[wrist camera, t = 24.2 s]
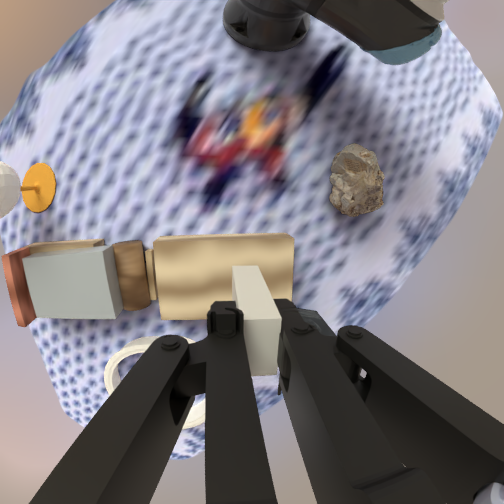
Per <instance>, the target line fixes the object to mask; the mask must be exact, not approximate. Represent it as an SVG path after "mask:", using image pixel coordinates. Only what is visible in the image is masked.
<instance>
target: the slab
mask: <svg viewBox="0 0 504 504" xmlns="http://www.w3.org/2000/svg"><path fill="white" fill-rule="evenodd" d="M22 261H23V266H24V270H25V275H26V279H27V284H28V288H29V292H30V295H31V299H32V303H33V306H34V310H35V313H36V316H37V318H60V319H116V318H117V317H118V316H119V314H120V313H121V311H122V310H123V308H124V306H123V301H122V297H121V292H120V287H119V281H118V276H117V270H116V264H115V258H114V251H113V245H108V246H98V247H87V248H77V249H67V250H58V251H48V252H39V253H34V254H32V255H29V256H27V257H25V258H23V259H22Z"/></svg>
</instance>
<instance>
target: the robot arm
mask: <svg viewBox="0 0 504 504" xmlns="http://www.w3.org/2000/svg"><path fill="white" fill-rule="evenodd" d="M447 1H449V0H228V2H227V3H226V5H225V8H224V12H223V24H224V27H225V29H226V31H227V32H228V33H229V35H230V36H231V37H232V38H234V39H235V40H236V41H238V42H239V43H241V44H243V45H245V46H247V47H250V48H253V49H257V50H262V51H281V50H286V49H289V48H292V47H294V46H296V45H297V44H298V43H300V42H301V41H302V40H303V38H304V37H305V35H306V34H307V32H308V30H309V27H310V15H312V16H314V17H315V18H317V19H318V20H320V21H322V22H323V23H325V24H327V25H328V26H330V27H332V28H333V29H335V30H336V31H338V32H339V33H341V34H342V35H344V36H345V37H347V38H348V39H350V40H351V41H353V42H354V43H356V44H357V45H358V46H360V48H361V49H362V50H363V51H365V52H368V53H370V54H371V55H372V56H374V57H375V58H377V59H378V60H379V61H381V62H382V63H384V64H390V65H401V64H405V63H408V62H410V61H413V60H415V59H417V58H418V57H420V56H422V55H423V54H425V53H426V52H428V51H429V50H430V49H431V48H430V47H431V46H433V45H435V44H436V43H437V42H438V41H439V39H440V37H441V35H442V30H441V28H440V25H439V23H440V22H441V21H443V20H444V10H443V4H445V3H446V2H447ZM207 330H208V336H207V337H206V338H205V339H203V340H201V341H199V342H195V343H190V344H189V343H188V341H187V339H185V338H184V337H182V336H178V335H164V336H162V337H159V338H157V339H156V340H154V341H153V342H152V344H151V345H150V346H149V347H148V349H147V350H146V351H145V352H144V354H143V355H142V356H141V357H140V359H139V360H138V361H137V362H136V364H135V365H134V366H133V367H132V369H131V370H130V371H129V372H128V374H127V375H126V376H125V377H124V379H123V380H122V381H121V382H120V384H119V385H118V386H117V387H116V389H115V390H114V391H113V392H112V394H111V395H110V396H109V398H108V399H107V400H106V401H105V403H104V404H103V405H102V406H101V408H100V409H99V410H98V412H97V413H96V414H95V415H94V417H93V418H92V419H91V421H90V422H89V423H88V425H87V426H86V427H85V428H84V430H83V431H82V432H81V434H80V435H79V436H78V438H77V439H76V440H75V442H74V443H73V444H72V446H71V447H70V448H69V449H68V451H67V452H66V453H65V455H64V456H63V458H62V459H61V460H60V462H59V463H58V464H57V466H56V467H55V468H54V470H53V471H52V472H51V474H50V475H49V477H48V478H47V479H46V481H45V482H44V483H43V485H42V486H41V487H40V489H39V490H38V492H37V493H36V494H35V496H34V497H33V499H32V500H31V501H30V503H29V504H149V503H150V501H151V499H152V496H153V494H154V492H155V490H156V487H157V485H158V483H159V481H160V478H161V476H162V474H163V471H164V469H165V467H166V465H167V462H168V460H169V458H170V455H171V453H172V451H173V449H174V446H175V444H176V442H177V439H178V437H179V435H180V433H181V430H182V428H183V426H184V423H185V421H186V419H187V416H188V414H189V412H190V410H191V407H192V405H193V403H194V400H195V395H199V394H203V393H206V395H205V486H206V504H278V502H277V499H276V495H275V490H274V485H273V481H272V476H271V472H270V467H269V463H268V458H267V453H266V448H265V443H264V438H263V433H262V429H261V424H260V418H259V413H258V408H257V403H256V398H255V393H254V388H253V382H252V377H251V376H265V375H277V367H279V370H280V376H279V385H278V395H280V394H281V390H282V393H283V396H284V400H285V403H286V406H287V409H288V412H289V416H290V419H291V422H292V426H293V429H294V432H295V435H296V438H297V442H298V444H299V448H300V451H301V454H302V457H303V461H304V464H305V467H306V470H307V473H308V476H309V479H310V482H311V486H312V489H313V492H314V495H315V498H316V501H317V504H504V424H502V423H501V422H499V421H498V420H496V419H495V418H493V417H492V416H491V415H489V414H488V413H486V412H485V411H483V410H482V409H481V408H479V407H478V406H476V405H475V404H473V403H472V402H470V401H469V400H468V399H466V398H464V397H463V396H462V395H460V394H459V393H457V392H456V391H454V390H453V389H452V388H450V387H449V386H447V385H446V384H444V383H443V382H441V381H440V380H439V379H437V378H436V377H434V376H433V375H431V374H430V373H428V372H427V371H426V370H424V369H423V368H421V367H420V366H418V365H417V364H415V363H414V362H412V361H411V360H410V359H408V358H407V357H405V356H404V355H402V354H401V353H399V352H398V351H396V350H395V349H394V348H392V347H391V346H389V345H388V344H386V343H385V342H384V341H382V340H381V339H379V338H378V337H376V336H375V335H373V334H372V333H370V332H369V331H367V330H366V329H364V328H362V327H358V326H355V325H349V326H344V327H342V328H340V329H339V330H338V334H337V336H329V335H321V334H320V332H319V331H318V329H317V328H316V327H315V326H314V325H312V324H310V323H306V322H304V320H303V318H302V316H301V315H300V313H299V312H298V310H297V308H296V306H295V305H294V303H293V302H291V301H290V300H288V299H287V298H284V299H273V298H272V296H271V294H270V291H269V289H268V287H267V285H266V283H265V280H264V278H263V276H262V274H261V272H260V269H259V267H258V265H255V266H232V301H215V302H214V303H213V304H212V305H211V306H210V310H209V311H208V313H207ZM362 369H364V370H365V371H366V372H367V374H366V377H365V378H363V377H361V376H360V373H361V370H362ZM404 466H406V467H407V468H406V467H404Z"/></svg>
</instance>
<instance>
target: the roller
mask: <svg viewBox="0 0 504 504" xmlns="http://www.w3.org/2000/svg"><path fill="white" fill-rule="evenodd" d="M113 251H114V258H115V264H116V270H117V276H118V281H119V287H120V292H121V297H122V301H123V306H124V308H123V309H124V310H128V311H136V310H141V309H144V308H146V307H148V306H149V305H150V304H151V300H150V294H149V288H148V282H147V276H146V269H145V262H144V255H143V247H142V241H140V240H132V241H124V242H119V243H115V244H113Z"/></svg>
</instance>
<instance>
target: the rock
mask: <svg viewBox="0 0 504 504" xmlns="http://www.w3.org/2000/svg"><path fill="white" fill-rule="evenodd" d="M331 171H332V175H331V176H330V182H331V183H332V185H333V188H332V193H331V194H330V196H329V199H330V202H331V203H332V204H333V206H334V207H335V208H336V209H338V210H339V211H341V213H342V214H346V215H348V216H349V217H350V216H352V217H355V216H358V215H359V214H365V213H368V212H372V211H375V210H377V209H379V208H380V207H381V206H382V205H383V201H382V197H383V185H382V183H383V180H384V178H385V177H384V174H383V172H381V170H380V167H379V165H378V162H377V158H376V155H375V153H374V152H373V151H369V150H368V149H366V148H364V147H363V146H361V145H358V144H356V143H353V144H350V145H348V146H345V147H344V149H343V150H342V151H341V152H339V153H337V154H336V155H335V157H334V159H333V162H332V166H331Z"/></svg>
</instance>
